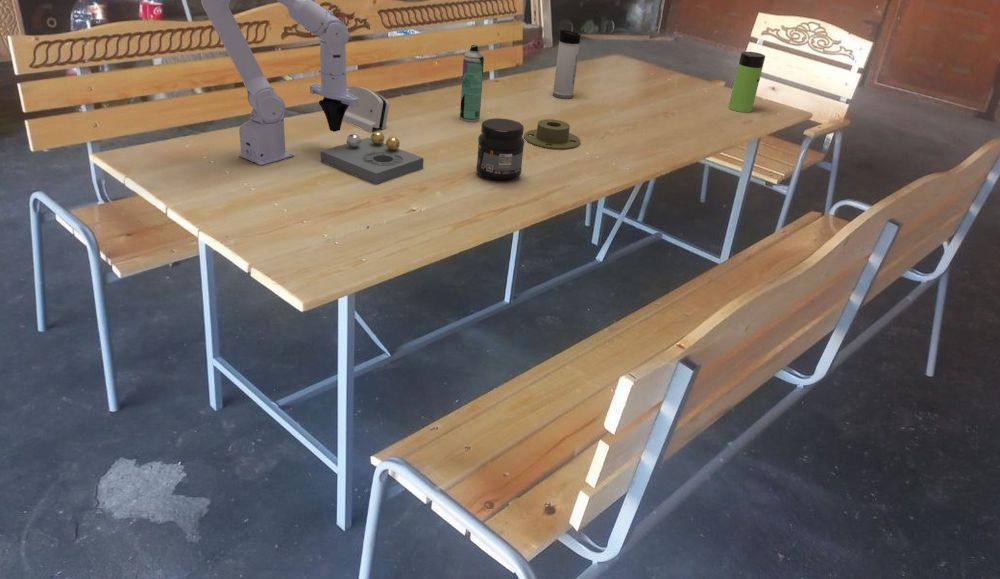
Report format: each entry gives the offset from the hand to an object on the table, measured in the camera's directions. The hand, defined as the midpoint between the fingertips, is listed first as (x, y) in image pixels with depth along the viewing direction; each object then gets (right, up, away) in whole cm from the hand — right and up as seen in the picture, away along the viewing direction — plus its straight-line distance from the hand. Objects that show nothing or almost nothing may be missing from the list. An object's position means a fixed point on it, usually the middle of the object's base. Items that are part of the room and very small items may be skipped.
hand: (335, 130), depth 183 cm
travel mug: (+58, +23, +61) cm, 87 cm away
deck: (+9, -9, -4) cm, 13 cm away
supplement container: (+38, -11, -2) cm, 40 cm away
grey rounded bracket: (+2, +7, +23) cm, 24 cm away
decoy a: (+10, -2, 0) cm, 10 cm away
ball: (+5, -3, -3) cm, 7 cm away
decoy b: (+14, -4, -2) cm, 15 cm away
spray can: (+30, +9, +32) cm, 45 cm away
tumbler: (+116, +20, +65) cm, 134 cm away
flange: (+53, +2, +23) cm, 57 cm away
